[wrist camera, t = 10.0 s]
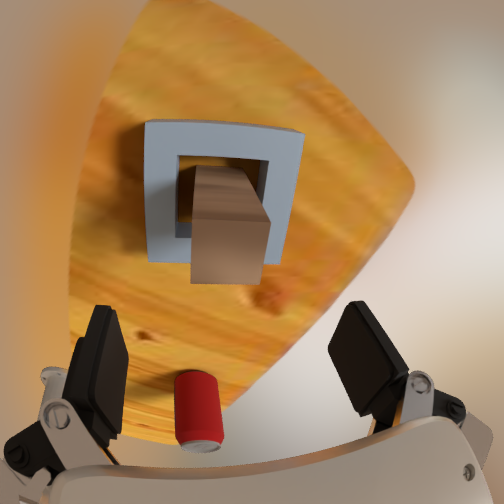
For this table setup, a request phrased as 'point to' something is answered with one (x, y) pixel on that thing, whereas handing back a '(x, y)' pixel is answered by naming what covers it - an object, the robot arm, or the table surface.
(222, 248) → the walnut peg
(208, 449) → the beverage can
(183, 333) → the table surface
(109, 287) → the table surface
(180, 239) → the grey square frame
